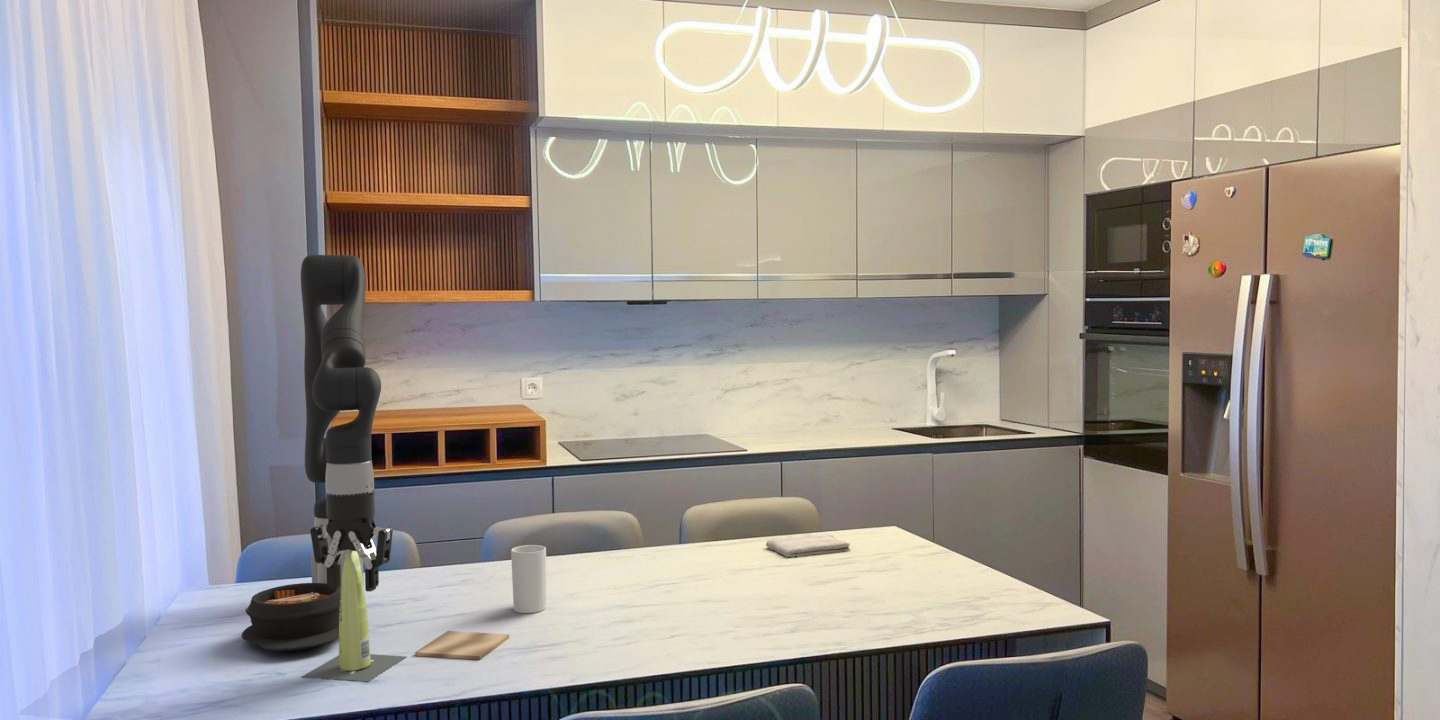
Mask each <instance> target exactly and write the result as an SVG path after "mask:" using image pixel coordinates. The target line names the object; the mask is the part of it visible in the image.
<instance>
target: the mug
mask: <svg viewBox="0 0 1440 720" xmlns="http://www.w3.org/2000/svg"><path fill="white" fill-rule="evenodd" d="M510 551H511V553H510V555H511V557H510V558H511V559H510V560H511V578H512V579H511V580H512V581H511V582H512V600H513V601H512V602H513V611H514V612H516V613H519V614H536V613H539V612H543V611H544V610H545V609H546V608H547V548H546V546H543V545H540V544H539V545H538V544H537V545H535V544H526V545H525V544H524V545H519V546H515V547H512V548H511V550H510Z"/></svg>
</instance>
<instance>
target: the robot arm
mask: <svg viewBox="0 0 1440 720" xmlns="http://www.w3.org/2000/svg"><path fill="white" fill-rule="evenodd" d="M363 264H364V263H363V262H362V260H361V259H360V258H359V257H358V256H356V255H351V254H350V255H349V254H311V255H307V256H305V257H304V259H303V260H302V262H301V267H300V288H301V289H300V290H301V300H302V311H303V312H302V313H303V323H304V363H303V364H304V367H303V368H304V369H303V371H304V372H303V373H304V394H305V395H304V396H305V410H306V413H305V414H306V416H305V417H306V421H305V422H306V423H305V424H306V425H305V442H304V444H305V445H304V468H305V469H304V470H305V475H306V477H307V480H308V481H310V482H312V483H315V484H317V483H318V484H324V483H325V497H323V498H321V499H319V500H317V501H315V503H314V505H313V515H314V519H313V520H314V521H313V522H314V526H313V527H312V528H311V529H310V530H309V531H310V538H311V545H312V551H313V552H311V555H310V558H311V559H310V561H311V562H310V563H311V564H310V565H311V583H326V584H328V586H329V587H330V589H332V590H335V589H337V588H340V589H341V582H342V573H343V566H344V562H345V559H346V554H347V553H349V552H350V551H351V550H352V551H357V553H358V556H359V560H360V565H361V571H362V578H363V584H364V591H365V592H373V591H375V590H376V589H377V587H378V586H379V583H380V580H379V579H380V578H379V577H380V575H379V571H380V570H379V567H381V566H383V565H384V564H387V563H389V562H390V560H391V551H392V542H393V541H392V540H393V534H394V533H393V528H392V527H390V526H388V527H385V528H384V527H380V526H377V524H376V522H375V514H376V513H375V512H376V508H375V507H376V506H375V504H376V502H375V475H374V474H375V473H374V467H373V460H372V459H373V457H372V455H373V454H372V430H373V424H374V419H375V416H376V415H375V414H376V409H377V406H378V403H379V400H380V396H381V392H382V382H381V378H380V375H379V374H378V373H377V371H376V370H375V369H373V368H371V367H365V366H366V361H367V360H366V359H367V355H366V347H365V338H364V321H365V320H364V319H365V312H366V311H365V307H366V273H365V268H364V265H363ZM323 305H327V306H332V305H333V306H334V305H335V306H337V305H338V306H341V307H340V308H339V309H338V310H337V311H336V312H335V313H334V314H333V315H332V316H331V317H330V318H329V319H327V318H326V316H325V314H324V311H323V309H322V306H323ZM343 411H344V412H345V411H358V414H357V416H356V417H355V418H354V419H353V420H351V421H349V422H347V423H343V424H338V425H335V426H331V427H330V428H329V426H330V425H331V423H332V422H333V421H334V419H335V417H337V415H338V414H339V413H340V412H343ZM374 536H375V541H377V542H376V544H377V545H375V544H374V541H373V537H374ZM364 566H365V568H366V569H364Z"/></svg>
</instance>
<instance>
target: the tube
mask: <svg viewBox="0 0 1440 720" xmlns="http://www.w3.org/2000/svg"><path fill="white" fill-rule="evenodd" d="M363 578H364V577H363ZM363 578H362V571H361V565H360V560H359V556H358V553H357V551H352V550H351V551H350V552H349V553H347V554H346V559H345V562H344V566H343V573H342V582H341V593H340V612H339V637H338V655H339V667H340V669H342V670H346V671H353V670H359V669H363V668H365V667H367V666H369V665H370V663H371V658H370V654H371V644H370V633H369V632H370V631H369V629H370V628H369V619H368V618H369V617H368V609H367V601H366V600H367V599H366V593H365V592H366V590H365V583H364V584H363Z"/></svg>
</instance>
